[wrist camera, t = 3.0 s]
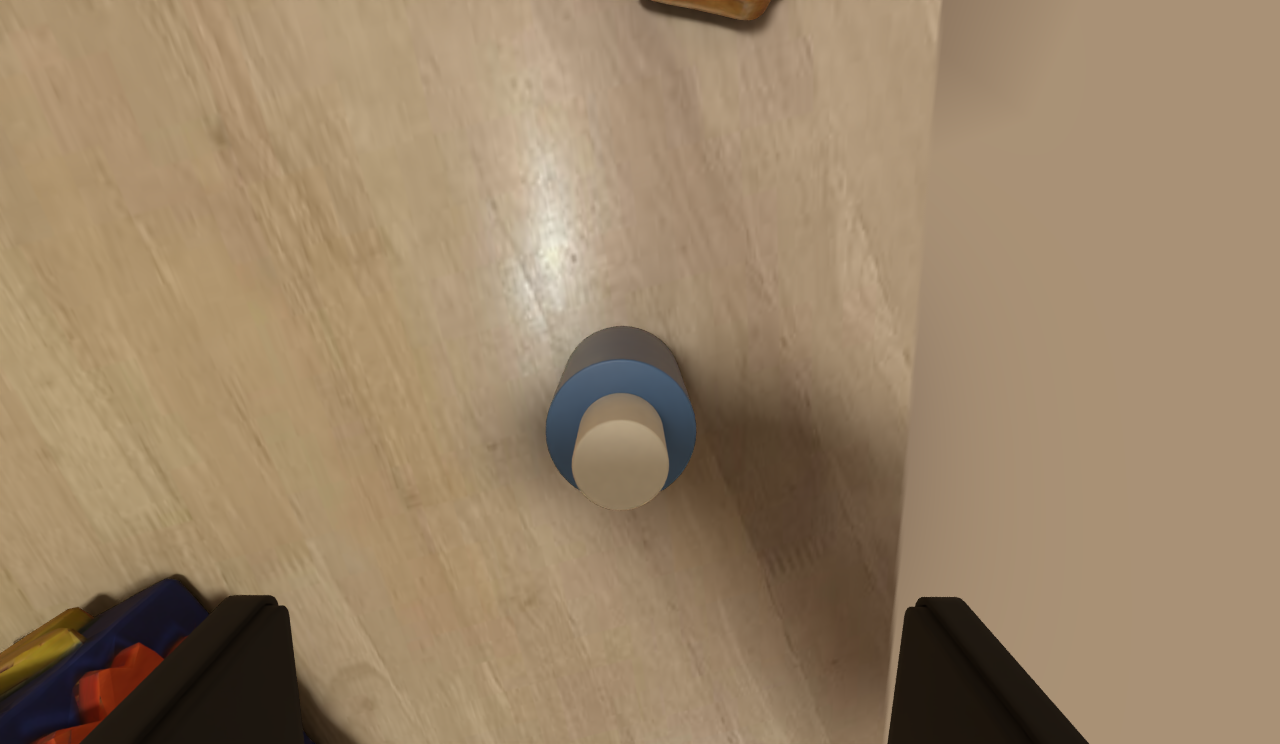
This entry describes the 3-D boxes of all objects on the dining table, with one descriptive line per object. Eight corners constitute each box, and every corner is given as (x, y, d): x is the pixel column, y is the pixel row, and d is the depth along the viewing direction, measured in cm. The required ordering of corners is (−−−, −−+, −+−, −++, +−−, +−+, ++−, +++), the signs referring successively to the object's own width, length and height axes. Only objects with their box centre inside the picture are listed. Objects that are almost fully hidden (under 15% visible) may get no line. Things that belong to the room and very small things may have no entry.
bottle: (683, 327, 28) (711, 383, 18) (678, 440, 29) (703, 547, 20) (563, 324, 28) (531, 380, 18) (563, 439, 29) (534, 545, 20)
